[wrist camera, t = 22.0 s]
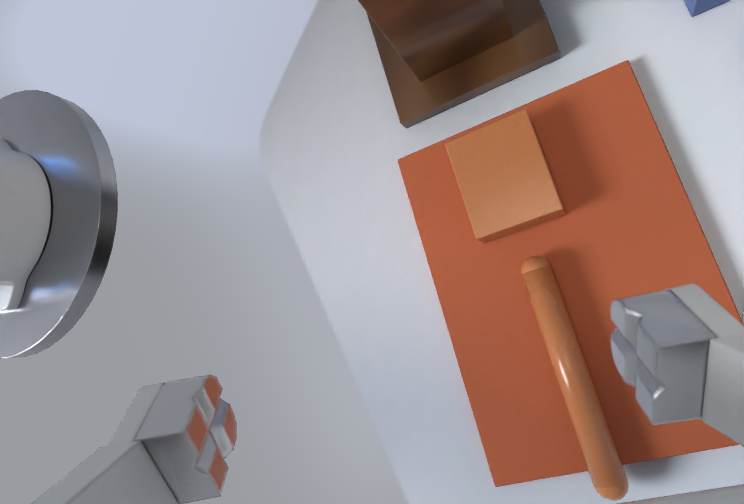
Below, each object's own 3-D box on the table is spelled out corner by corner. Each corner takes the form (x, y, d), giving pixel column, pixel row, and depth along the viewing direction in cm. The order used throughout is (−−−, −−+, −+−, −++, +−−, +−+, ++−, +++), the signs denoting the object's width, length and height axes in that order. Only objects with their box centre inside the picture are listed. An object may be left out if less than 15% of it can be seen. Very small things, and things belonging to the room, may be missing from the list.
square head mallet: (567, 501, 27) (565, 513, 25) (452, 151, 31) (444, 142, 30) (667, 486, 25) (671, 498, 23) (529, 119, 30) (525, 107, 28)
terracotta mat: (497, 484, 29) (495, 487, 28) (400, 162, 33) (397, 159, 33) (787, 433, 24) (792, 435, 23) (627, 64, 29) (628, 59, 28)
